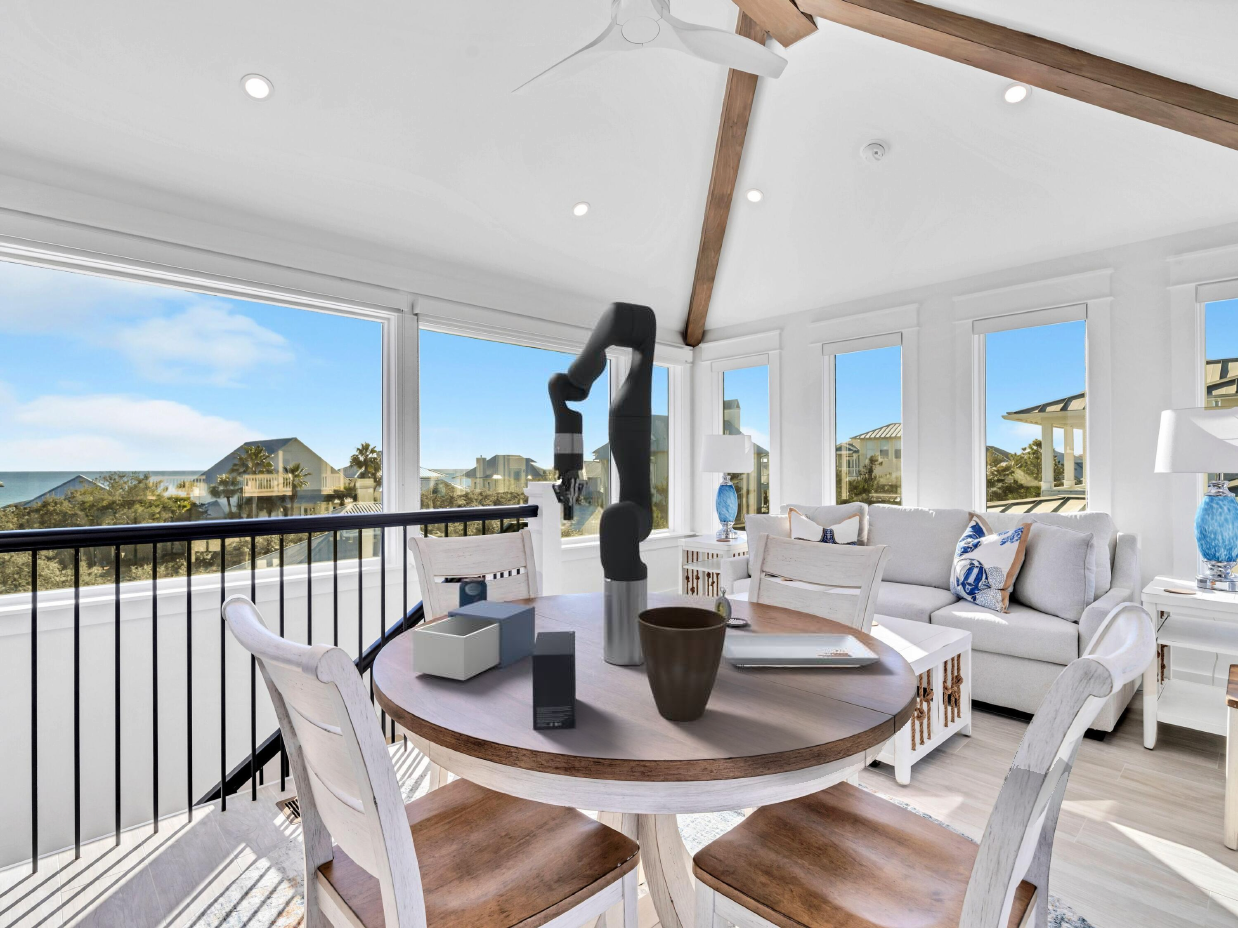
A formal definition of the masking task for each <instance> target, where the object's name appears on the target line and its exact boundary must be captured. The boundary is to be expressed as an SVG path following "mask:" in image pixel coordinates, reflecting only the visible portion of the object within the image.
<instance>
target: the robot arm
mask: <svg viewBox="0 0 1238 928" xmlns="http://www.w3.org/2000/svg"><path fill="white" fill-rule="evenodd" d="M656 340H657V318H656V313H655V311H654V310H653V309H652V307H650V306H649V305H648V306H647V305H643V304H637V303H636V304H635V303H631V302H624V301H623V302H622V301H615V302H611V303H609V304H608V305H607V306H606V307H605V309H604V310H603V312H602V313H601V315H600V316H599V318H598V320H597V323H596V324H595V326H594V328H593V330H592V331H591V334H590V336H589V337H588V340H587V342H586V344H585V346H584V348H583V349H582V350H581V352H579V354H578V355H577V356H576V357H575V359H573V361H572V362H571V364H570V365H569V366H568V368H567V372H566V373H565V372H555V373H553V374H552V375H551V376H550V377H549V380H548V384H547V390H548V391H547V392H548V396H549V399H550V402H551V407H552V411H553V415H554V440H553V470H554V471H557V473H558V474H557V478H556V480H557V482H556V483H553V484H551V489H552V491H553V493H554V495H555V498H556V500H557V503H558V504H560V505H561V506H562V518H563V521H573V520H574V516H575V515H574V513H575V512H574V511H575V510H574V509H575V508H574V507H575V505H576V503H579V502H580V498H581V495H582V492H583V490H584V486H585V484H584V482H581V481H580V473H579V472H580V471H581V472H582V471H584V435H583V428H584V427H583V425H584V424H583V421H584V420H583V414H582V413H581V412H580V411H578V410H574V409H571V408H570V407H569V406H568V404H567V402H576V403H579V402H583V401H585V400H587V399H588V397H589V395H590V392H591V389H592V387H593V384H594V383H595V381H597V379H599V377H601V376H602V374H603V373H604V371H605V369H606V367H607V362H608V358H607V353H606V349H608V348H609V347H611V346H615V347H618V348H627V349H631V361H630V367H629V370H628V374H627V376H626V378H625V379H624V382H623V383H622V384H621V386H620V387H619V389H618V391H617V393H616V394H615V396H614V398H613V399H612V401H611V404H610V405H609V408H608V421H607V422H608V423H607V425H608V426H607V429H608V434H607V435H608V443H609V447H610V452H611V455H612V457H613V460H614V463H615V466H616V469H617V473H618V480H619V482H618V483H619V496H618V502H614V503H612V504H610V505H608V506H607V507H605V509H604V510H603V512H602V513H601V516H600V519H599V525H598V526H599V528H598V529H599V530H598V531H599V533H598V534H599V538H598V539H599V555H600V564H601V566H602V569H603V660H604V661H606V662H607V663H610V664H612V665H613V664H614V665H617V666H618V665H619V666H633V665H634V666H635V665H636V666H641V665H642V664H644V660H643V654H642V649H641V643H640V636H639V628H638V620H637V615H638V614H639V613H640V612H642V611H645V610H648V565H647V564H646V563H645V562H643V560H642V559H641V553H640V543H642V542H644V541H646V539H649V538H648V537H650V535H651V533H652V530H653V527H654V510H653V499H652V487H651V460H652V458H651V457H652V454H651V452H652V449H651V448H652V427H653V426H652V417H653V416H652V415H653V414H652V413H653V412H652V388H653V370H654V362H655V361H654V360H655V350H656Z"/></svg>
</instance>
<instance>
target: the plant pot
mask: <svg viewBox="0 0 1238 928" xmlns="http://www.w3.org/2000/svg"><path fill="white" fill-rule="evenodd" d="M724 615H725V614H721V613H718V612H715V610H711V609H707V608H701V607H693V606H675V605H674V606H661V607H653V608H649V609H648V608H647V610H645V611H642V612H640V613H639V614H638V615H637V620H638V628H639V636H640V643H641V649H642V654H643V660H644V663H643V665H644V668H645V673H646V677H647V681H648V684H649V686H650V690H651V694H652V697H653V700H654V702H655V705H656V706H655V707H656V708H657V710H658V713H659V714H660V716H661V717H663V718H666V719H669V720H671V721H672V720H673V721H677V722H689V721H695V719H696V720H698V719H700V718H702V716H703V715H704V712H705V709H706V708H707V705H708V702H709V700H710V697H711V694H712V691H713V688H714V685H715V683H716V679H717V674H718V671H719V668H720V665H721V664H720V663H721V659H722V656H723V654H722V651H723V646H724V640H725V634H726V632H727V628H728V627H727V617H726V616H724Z"/></svg>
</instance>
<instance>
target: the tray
mask: <svg viewBox="0 0 1238 928" xmlns="http://www.w3.org/2000/svg"><path fill="white" fill-rule="evenodd" d="M836 650H838V651H837V652H836ZM840 650H841V651H840ZM843 651H844V652H843ZM825 653H827V654H825ZM828 653H829V654H828ZM830 653H848V654H849V655H851V656H852V657H826V656H825V657H823V656H818V655H831V654H830ZM832 655H834V654H832ZM722 657H723V658H724V659H725V660H726V661H728V662H729V663H731V664H733V665H735V664H736V665H741V666H742V665H743V666H744V665H863V666H867V664H868V665H870V664H871V665H872V664H873V663H876V662H878V661H880V659H881V658H880V656H879V655H878V654H876V652H874V651H872V650H871V649H870V648H868V647H867V646H866V645H864V643H862V642H861V641H859V640H858V639H857V638H856V637H854V636H853V635H851V634H845V633H726V634H725V640H724V646H723V651H722ZM736 665H735V666H736Z"/></svg>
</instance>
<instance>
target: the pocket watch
mask: <svg viewBox="0 0 1238 928" xmlns="http://www.w3.org/2000/svg"><path fill="white" fill-rule="evenodd" d="M722 589H723V590H722ZM719 590H720V592H721V594H722V595H720V596H718V597H717V598H716V599H715V602H714V611H715V612H718V613H721V614H723V615H724V616H726V617H727V622H729V620H730V619H734V620H735V619H736V620H742V621H745V622H746V623H743V624H731V623H727V625H729V627H732V626H740V627H744V626H743V625H745V626H747V625H748V624H749V622H748V620H747V619H745V618H741V617H732V614H733V613H732V611H733V610H732V609H733V608H732V605H731V602H730V601H729V599H728V597H726V596H725V594H726V592H727V591H726V588H724V587H723V586H720V587H719ZM746 624H747V625H746Z"/></svg>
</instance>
